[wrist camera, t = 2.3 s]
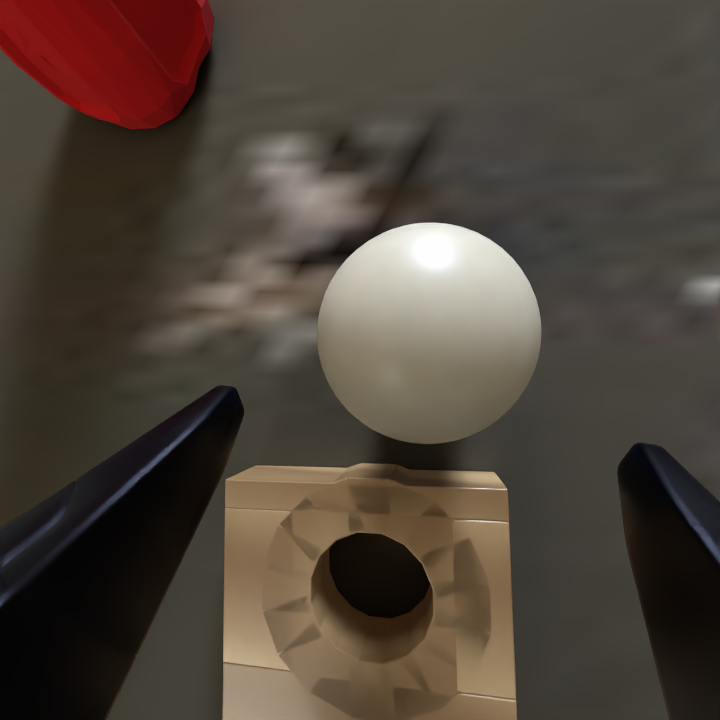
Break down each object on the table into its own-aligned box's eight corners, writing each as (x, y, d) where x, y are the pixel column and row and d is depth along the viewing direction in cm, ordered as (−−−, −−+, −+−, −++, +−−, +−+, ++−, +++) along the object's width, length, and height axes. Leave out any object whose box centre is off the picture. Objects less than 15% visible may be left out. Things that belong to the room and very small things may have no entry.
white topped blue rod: (470, 407, 18) (590, 470, 5) (387, 407, 19) (282, 462, 5) (467, 324, 18) (572, 156, 5) (385, 327, 19) (282, 190, 6)
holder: (506, 770, 16) (522, 853, 14) (253, 729, 19) (220, 793, 16) (494, 466, 17) (507, 482, 14) (255, 460, 20) (224, 473, 17)
